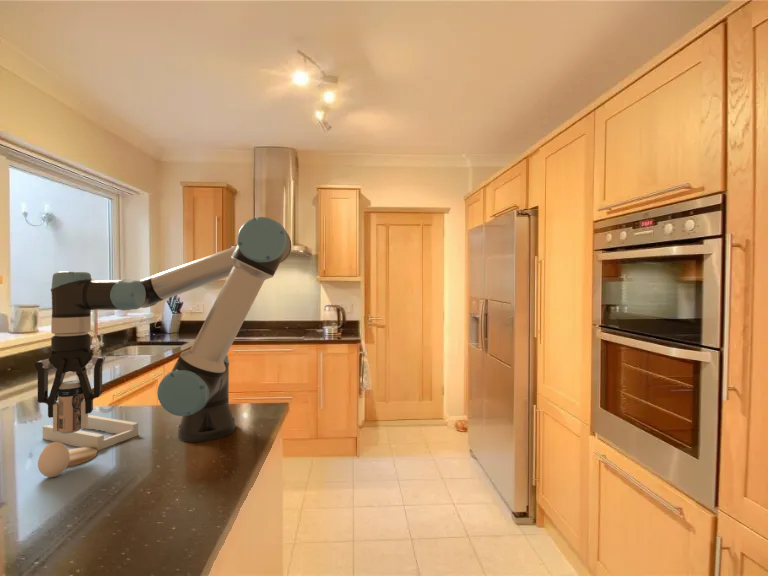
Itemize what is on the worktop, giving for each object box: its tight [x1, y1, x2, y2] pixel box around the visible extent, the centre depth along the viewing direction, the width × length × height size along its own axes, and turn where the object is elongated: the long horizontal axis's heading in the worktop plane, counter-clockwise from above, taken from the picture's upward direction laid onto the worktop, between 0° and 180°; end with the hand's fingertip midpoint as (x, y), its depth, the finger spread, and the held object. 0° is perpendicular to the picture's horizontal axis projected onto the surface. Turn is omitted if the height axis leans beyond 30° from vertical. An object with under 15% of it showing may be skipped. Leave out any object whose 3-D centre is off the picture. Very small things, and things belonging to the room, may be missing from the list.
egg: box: [37, 441, 70, 478], centre depth 85 cm, size 5×5×8 cm
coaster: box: [66, 447, 98, 468], centre depth 93 cm, size 10×10×1 cm
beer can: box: [57, 379, 84, 434], centre depth 93 cm, size 5×5×12 cm
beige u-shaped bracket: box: [42, 414, 139, 451], centre depth 107 cm, size 23×11×4 cm, turn 70°
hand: (70, 427), depth 93 cm, fingers closed on beer can, 5 cm apart
